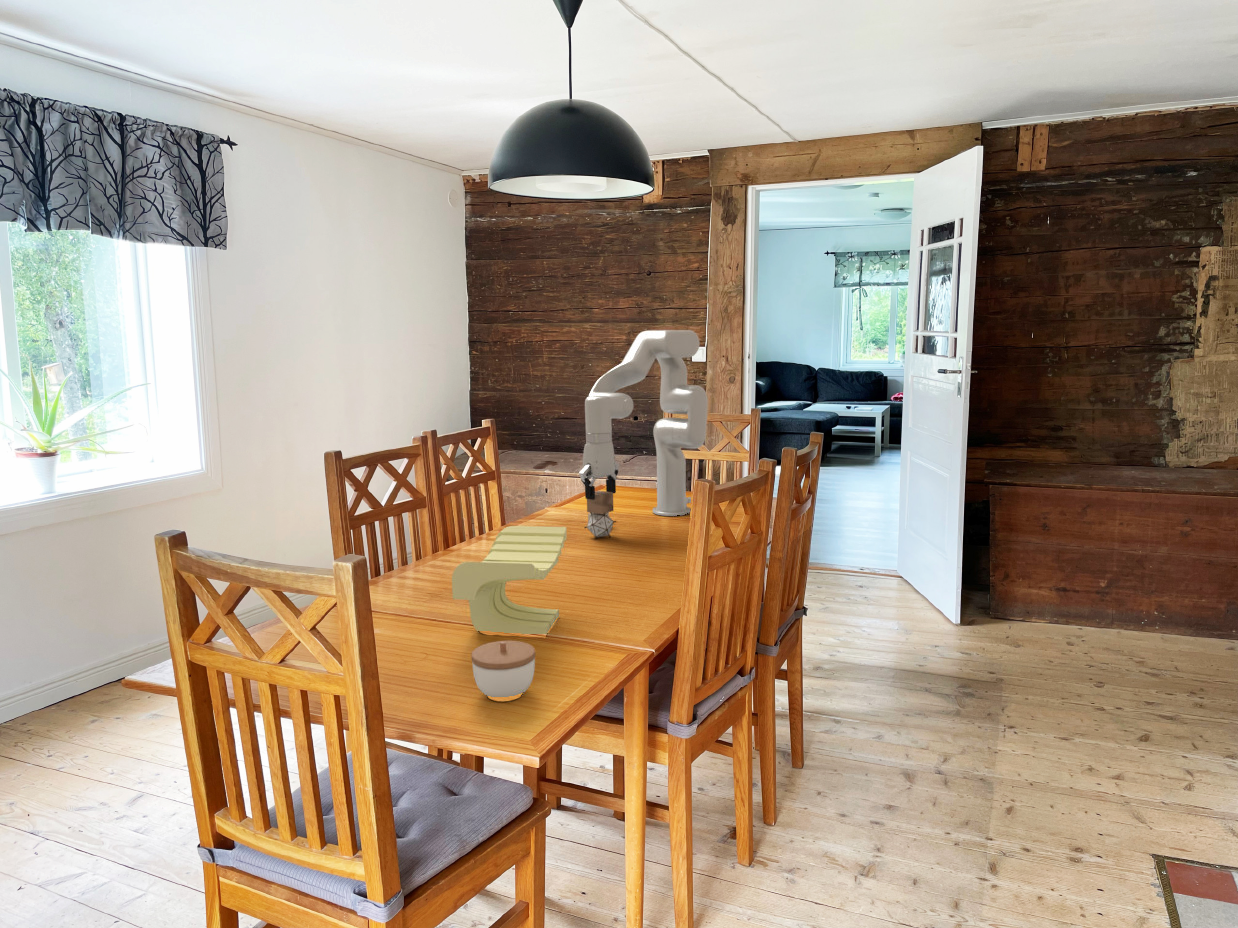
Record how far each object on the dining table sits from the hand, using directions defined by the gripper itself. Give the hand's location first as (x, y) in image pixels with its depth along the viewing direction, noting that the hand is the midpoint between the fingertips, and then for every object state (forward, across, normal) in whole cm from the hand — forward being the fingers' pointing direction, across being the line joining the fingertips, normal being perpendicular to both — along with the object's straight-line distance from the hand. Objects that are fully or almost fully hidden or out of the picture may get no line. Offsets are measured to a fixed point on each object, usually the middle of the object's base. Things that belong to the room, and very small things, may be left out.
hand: (600, 495), depth 254 cm
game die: (+13, +1, 0) cm, 13 cm away
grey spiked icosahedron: (+13, -8, -8) cm, 17 cm away
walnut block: (+4, +1, 0) cm, 5 cm away
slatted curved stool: (+11, +70, +33) cm, 78 cm away
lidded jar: (+10, +96, +56) cm, 111 cm away
